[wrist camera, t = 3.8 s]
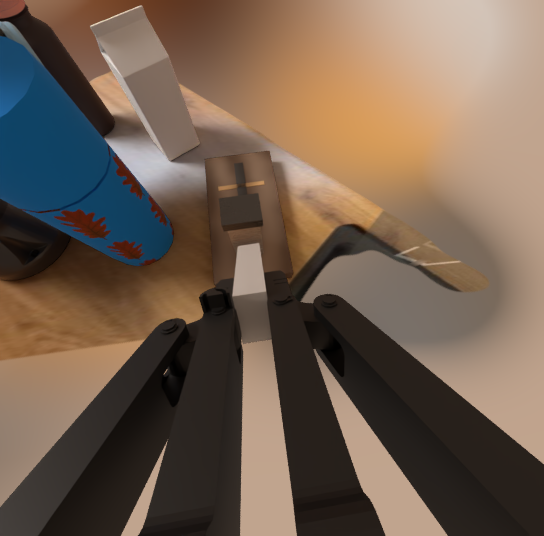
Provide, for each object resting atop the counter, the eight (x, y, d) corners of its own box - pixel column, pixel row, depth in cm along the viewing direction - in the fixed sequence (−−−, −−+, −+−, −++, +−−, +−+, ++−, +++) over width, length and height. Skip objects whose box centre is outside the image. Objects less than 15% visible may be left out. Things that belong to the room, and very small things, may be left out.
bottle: (122, 124, 49) (26, -18, 30) (95, 143, 47) (-24, 6, 28) (102, 109, 50) (-1, -34, 31) (76, 127, 49) (-50, -13, 30)
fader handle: (236, 259, 35) (221, 225, 25) (233, 238, 36) (218, 198, 27) (265, 255, 36) (262, 219, 26) (262, 234, 37) (258, 192, 27)
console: (217, 288, 37) (213, 284, 34) (208, 168, 45) (204, 158, 42) (291, 277, 37) (293, 272, 35) (269, 161, 45) (269, 150, 43)
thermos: (180, 255, 39) (41, 120, 15) (116, 275, 38) (-147, 164, 14) (167, 202, 42) (33, 20, 18) (107, 219, 41) (-122, 49, 17)
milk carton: (200, 144, 47) (155, 18, 29) (170, 162, 45) (102, 40, 27) (182, 124, 49) (129, -7, 31) (152, 140, 47) (78, 13, 29)
